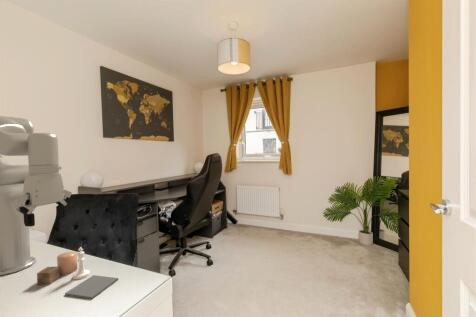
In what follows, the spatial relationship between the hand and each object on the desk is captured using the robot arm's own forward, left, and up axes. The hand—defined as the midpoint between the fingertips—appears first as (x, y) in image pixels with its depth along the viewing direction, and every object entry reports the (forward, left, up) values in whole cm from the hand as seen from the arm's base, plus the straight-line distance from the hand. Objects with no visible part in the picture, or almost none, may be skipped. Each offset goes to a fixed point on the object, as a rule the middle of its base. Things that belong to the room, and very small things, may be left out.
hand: (46, 221), depth 74 cm
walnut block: (0, 0, -20) cm, 20 cm away
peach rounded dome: (0, +6, -20) cm, 21 cm away
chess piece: (+8, +5, -20) cm, 23 cm away
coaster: (+18, 0, -20) cm, 27 cm away
